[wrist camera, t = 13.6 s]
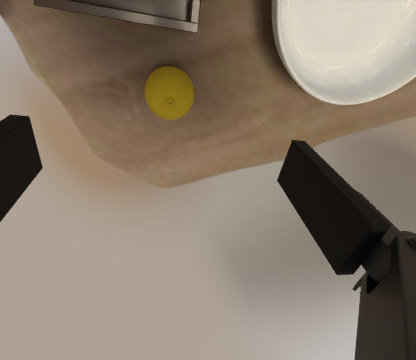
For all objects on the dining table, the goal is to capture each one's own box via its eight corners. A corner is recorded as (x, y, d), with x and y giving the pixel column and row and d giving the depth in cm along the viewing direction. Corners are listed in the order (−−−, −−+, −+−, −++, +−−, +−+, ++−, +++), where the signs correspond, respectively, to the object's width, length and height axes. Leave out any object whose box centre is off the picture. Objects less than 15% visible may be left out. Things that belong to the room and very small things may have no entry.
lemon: (180, 113, 33) (183, 137, 27) (140, 94, 31) (133, 116, 25) (199, 74, 31) (207, 90, 24) (157, 51, 29) (154, 62, 22)
